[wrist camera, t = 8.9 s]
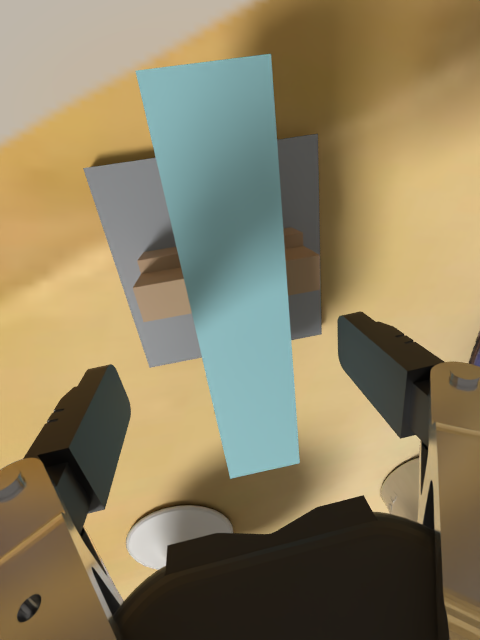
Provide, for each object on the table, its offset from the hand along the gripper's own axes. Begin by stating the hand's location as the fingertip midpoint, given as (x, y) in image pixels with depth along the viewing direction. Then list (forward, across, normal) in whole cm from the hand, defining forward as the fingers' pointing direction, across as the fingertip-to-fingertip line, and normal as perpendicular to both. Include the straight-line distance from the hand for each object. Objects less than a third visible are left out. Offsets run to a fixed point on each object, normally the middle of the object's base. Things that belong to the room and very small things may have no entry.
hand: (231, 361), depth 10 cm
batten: (+6, -1, 0) cm, 6 cm away
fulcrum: (+12, -1, -1) cm, 12 cm away
